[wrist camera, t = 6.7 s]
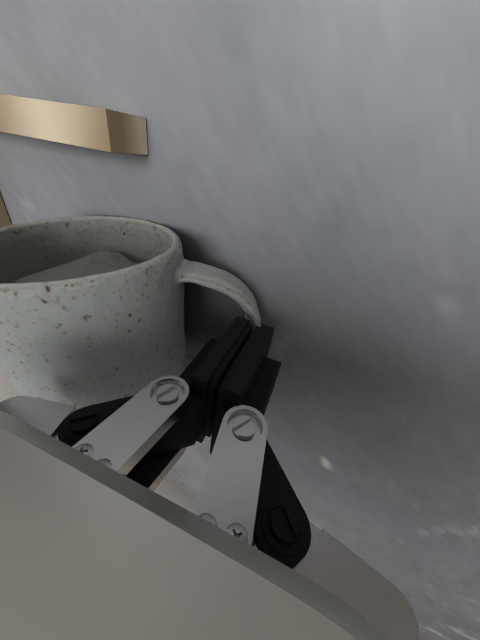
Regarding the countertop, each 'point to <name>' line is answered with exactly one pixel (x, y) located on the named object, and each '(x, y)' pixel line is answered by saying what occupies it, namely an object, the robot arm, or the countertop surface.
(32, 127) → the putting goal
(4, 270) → the ceramic mug
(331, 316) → the countertop surface
